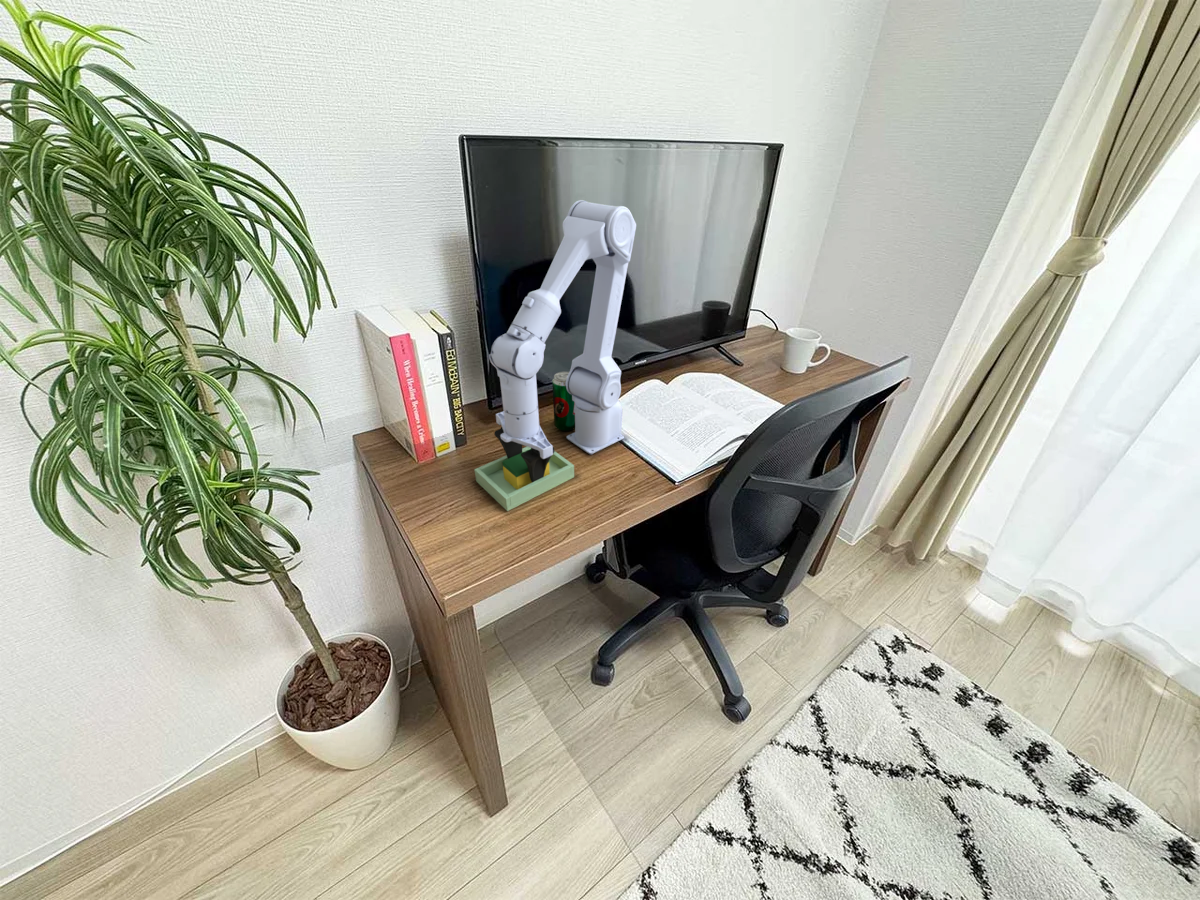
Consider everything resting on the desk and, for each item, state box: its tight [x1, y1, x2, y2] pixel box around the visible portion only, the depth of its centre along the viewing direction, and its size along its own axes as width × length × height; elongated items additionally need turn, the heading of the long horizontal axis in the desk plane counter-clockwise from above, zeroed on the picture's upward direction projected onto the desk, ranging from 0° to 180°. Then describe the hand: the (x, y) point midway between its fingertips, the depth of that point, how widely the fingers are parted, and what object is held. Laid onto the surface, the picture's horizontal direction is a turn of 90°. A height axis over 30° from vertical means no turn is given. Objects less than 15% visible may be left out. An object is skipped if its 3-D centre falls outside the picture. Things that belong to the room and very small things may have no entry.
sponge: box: [502, 449, 550, 490], centre depth 85 cm, size 7×4×4 cm, turn 131°
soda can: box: [551, 371, 575, 432], centre depth 99 cm, size 5×5×12 cm
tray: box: [474, 446, 575, 512], centre depth 87 cm, size 15×11×3 cm
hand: (526, 471), depth 86 cm, fingers open, 6 cm apart
